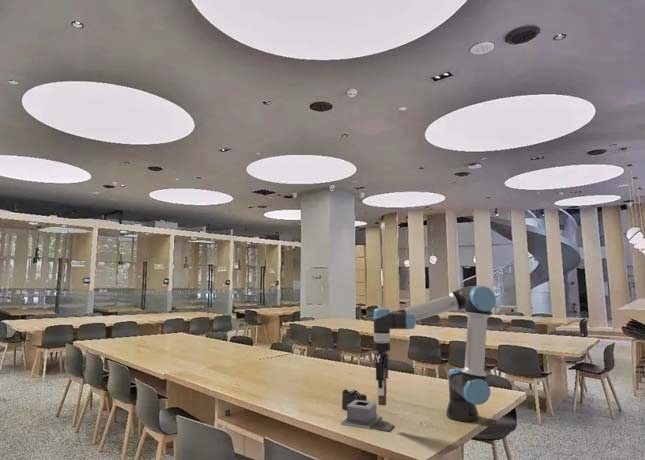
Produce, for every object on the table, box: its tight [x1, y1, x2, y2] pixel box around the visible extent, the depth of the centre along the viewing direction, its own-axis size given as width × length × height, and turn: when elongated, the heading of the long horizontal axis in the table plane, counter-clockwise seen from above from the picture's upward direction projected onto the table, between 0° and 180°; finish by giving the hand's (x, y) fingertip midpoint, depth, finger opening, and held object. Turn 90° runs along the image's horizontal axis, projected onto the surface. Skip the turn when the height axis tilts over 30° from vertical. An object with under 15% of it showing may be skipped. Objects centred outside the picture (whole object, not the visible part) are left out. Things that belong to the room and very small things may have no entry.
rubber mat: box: [371, 421, 395, 433], centre depth 184 cm, size 8×8×1 cm
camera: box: [341, 389, 368, 411], centre depth 212 cm, size 14×11×10 cm
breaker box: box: [341, 400, 382, 429], centre depth 194 cm, size 14×18×8 cm
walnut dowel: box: [377, 368, 387, 407], centre depth 186 cm, size 4×4×16 cm
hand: (382, 394), depth 186 cm, fingers closed on walnut dowel, 3 cm apart
